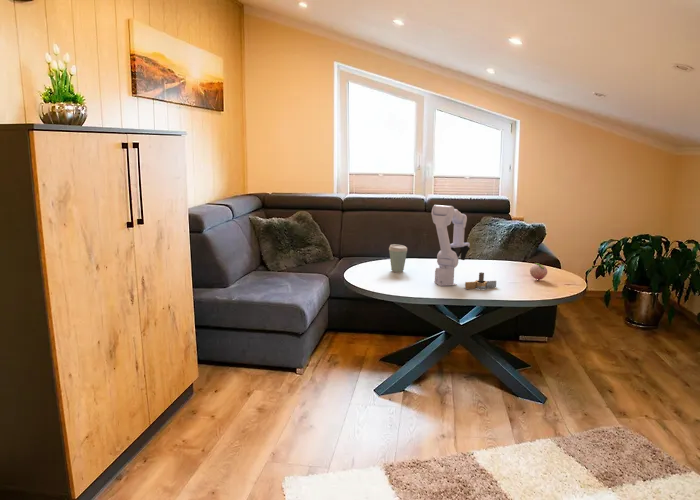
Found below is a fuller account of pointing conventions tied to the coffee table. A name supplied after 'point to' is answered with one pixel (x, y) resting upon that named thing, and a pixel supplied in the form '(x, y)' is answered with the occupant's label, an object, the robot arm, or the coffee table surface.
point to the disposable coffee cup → (397, 257)
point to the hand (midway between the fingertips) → (457, 260)
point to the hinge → (480, 285)
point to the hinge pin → (481, 277)
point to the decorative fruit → (538, 271)
